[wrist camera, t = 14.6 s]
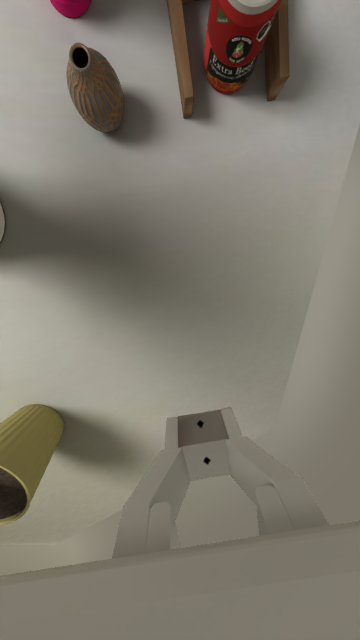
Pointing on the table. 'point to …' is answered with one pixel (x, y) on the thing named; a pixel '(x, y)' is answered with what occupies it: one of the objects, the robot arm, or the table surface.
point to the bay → (274, 53)
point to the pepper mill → (71, 7)
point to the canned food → (235, 40)
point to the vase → (94, 88)
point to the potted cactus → (25, 456)
